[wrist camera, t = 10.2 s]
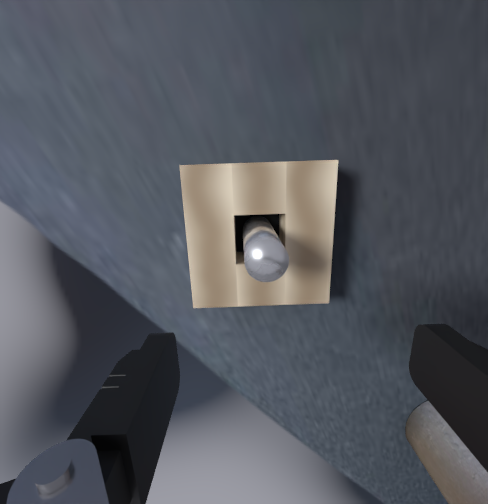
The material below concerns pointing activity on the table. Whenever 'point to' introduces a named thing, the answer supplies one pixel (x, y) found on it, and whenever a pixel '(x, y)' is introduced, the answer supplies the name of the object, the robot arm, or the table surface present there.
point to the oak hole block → (255, 203)
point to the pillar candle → (446, 457)
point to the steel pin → (263, 250)
